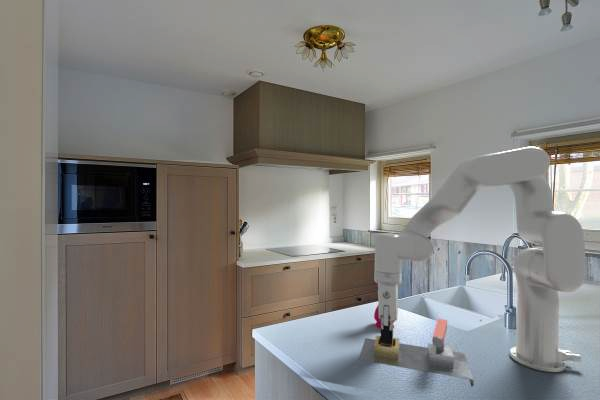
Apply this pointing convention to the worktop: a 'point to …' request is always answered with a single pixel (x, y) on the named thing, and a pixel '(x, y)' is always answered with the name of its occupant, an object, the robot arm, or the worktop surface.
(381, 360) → the board
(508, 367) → the worktop surface
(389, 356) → the holed wooden block
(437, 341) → the orange and grey block
